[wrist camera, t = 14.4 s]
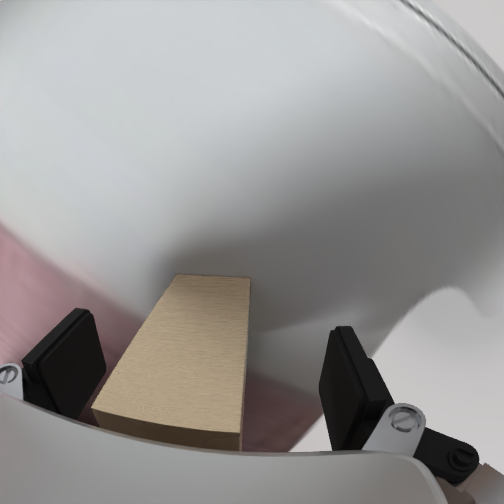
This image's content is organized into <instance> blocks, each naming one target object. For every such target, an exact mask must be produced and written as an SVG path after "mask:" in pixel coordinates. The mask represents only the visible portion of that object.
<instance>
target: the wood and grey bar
mask: <svg viewBox="0 0 504 504" xmlns="http://www.w3.org/2000/svg"><path fill="white" fill-rule="evenodd" d="M249 302H250V278H245V277H222V276H202V275H184V274H177V275H176V276H175V277H174V279H173V280H172V282H171V283H170V285H169V286H168V288H167V289H166V290H165V292H164V293H163V295H162V296H161V298H160V299H159V301H158V302H157V304H156V305H155V307H154V308H153V310H152V311H151V313H150V314H149V316H148V317H147V319H146V320H145V322H144V323H143V325H142V326H141V328H140V329H139V331H138V332H137V334H136V335H135V337H134V339H133V340H132V342H131V343H130V345H129V346H128V348H127V349H126V351H125V353H124V354H123V356H122V357H121V359H120V360H119V362H118V364H117V365H116V367H115V368H114V370H113V372H112V373H111V375H110V377H109V378H108V380H107V381H106V383H105V385H104V386H103V388H102V390H101V391H100V393H99V395H98V396H97V398H96V400H95V401H94V403H93V405H92V406H91V410H92V412H93V414H94V416H95V418H96V420H97V423H98V425H99V427H100V428H103V429H106V430H110V431H114V432H118V433H121V434H126V435H130V436H134V437H138V438H143V439H148V440H153V441H158V442H164V443H169V444H176V445H182V446H189V447H197V448H205V449H215V450H226V451H241V450H242V434H243V417H244V400H245V383H246V366H247V349H248V329H249Z"/></svg>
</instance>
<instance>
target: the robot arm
mask: <svg viewBox="0 0 504 504" xmlns="http://www.w3.org/2000/svg"><path fill="white" fill-rule="evenodd" d="M21 361H22V364H23V366H24V367H23V369H22V370H21V368H20V366H19V365H17V364H14V363H7V364H3V365H1V366H0V504H504V475H503V474H501V473H500V472H498V471H497V470H495V469H494V468H492V467H491V466H490V465H488V464H486V463H484V464H483V465H481V464H480V463H479V455H478V453H477V451H476V449H475V448H473V446H471V445H469V444H467V443H465V442H462V441H459V440H457V439H454V438H452V437H449V436H446V435H444V434H441V433H439V432H436V431H434V430H431V429H429V428H427V427H425V425H426V419H425V416H424V414H423V412H422V411H421V410H420V409H418V408H417V407H415V406H413V405H410V404H406V403H398V404H395V403H394V401H393V399H392V397H391V395H390V393H389V391H388V389H387V387H386V385H385V383H384V381H383V379H382V377H381V375H380V373H379V371H378V369H377V367H376V365H375V363H374V361H373V360H372V359H370V358H367V356H366V354H365V352H364V350H363V348H362V346H361V344H360V342H359V340H358V338H357V336H356V334H355V332H354V330H353V328H352V327H351V326H337V327H336V328H335V330H331V331H330V335H329V340H328V345H327V350H326V354H325V359H324V364H323V368H322V373H321V377H320V381H319V394H320V398H321V402H322V407H323V411H324V415H325V420H326V424H327V429H328V433H329V438H330V442H331V447H332V451H319V452H242V451H226V450H215V449H205V448H197V447H189V446H182V445H176V444H169V443H164V442H158V441H153V440H148V439H143V438H138V437H134V436H130V435H126V434H121V433H118V432H114V431H110V430H106V429H103V428H99V427H96V426H92V425H89V424H86V423H83V422H80V421H77V418H78V416H79V415H80V413H81V411H82V410H83V408H84V406H85V405H86V403H87V401H88V400H89V398H90V397H91V395H92V393H93V392H94V390H95V388H96V387H97V385H98V384H99V382H100V381H101V379H102V377H103V376H104V374H105V372H106V363H105V360H104V356H103V352H102V349H101V345H100V341H99V337H98V333H97V329H96V325H95V320H94V316H93V314H91V313H90V311H89V310H87V309H81V308H75V309H74V310H73V311H72V312H71V313H70V314H68V315H67V316H66V317H65V318H64V319H63V320H62V321H61V322H60V323H59V324H58V325H57V326H56V327H55V328H54V329H53V330H52V331H51V332H49V333H48V334H47V335H46V336H45V337H44V338H43V339H42V340H41V341H40V342H39V343H38V344H37V345H36V346H35V347H34V348H33V349H32V350H31V351H30V352H29V353H28V354H27V355H26V356H25V357H24V358H23V359H22V360H21Z"/></svg>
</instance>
